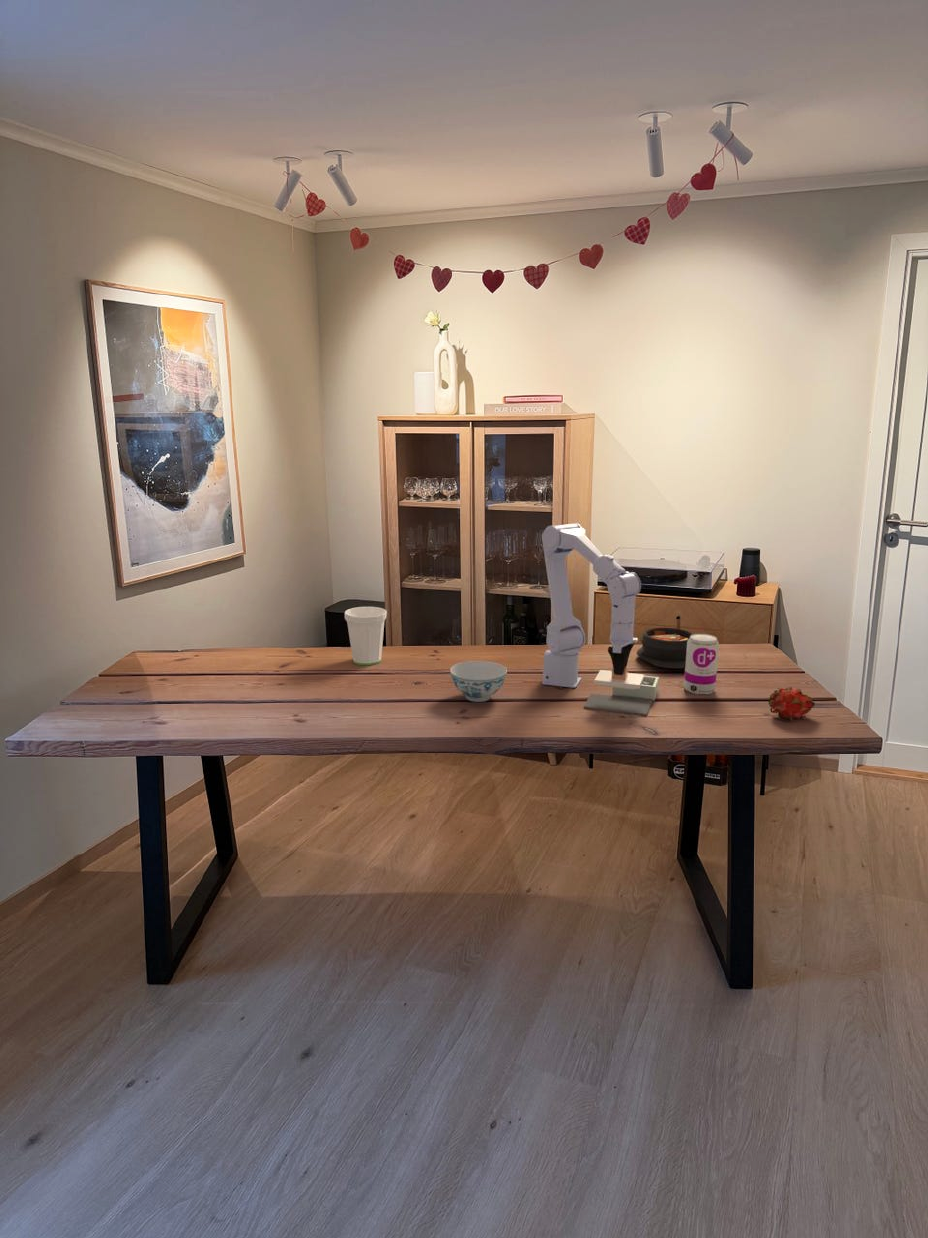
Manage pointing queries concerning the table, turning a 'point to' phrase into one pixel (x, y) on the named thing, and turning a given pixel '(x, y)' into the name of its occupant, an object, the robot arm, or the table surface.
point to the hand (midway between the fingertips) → (619, 672)
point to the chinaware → (478, 679)
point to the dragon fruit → (790, 703)
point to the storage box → (640, 690)
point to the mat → (618, 704)
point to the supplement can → (701, 664)
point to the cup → (366, 633)
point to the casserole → (665, 647)
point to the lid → (619, 679)
